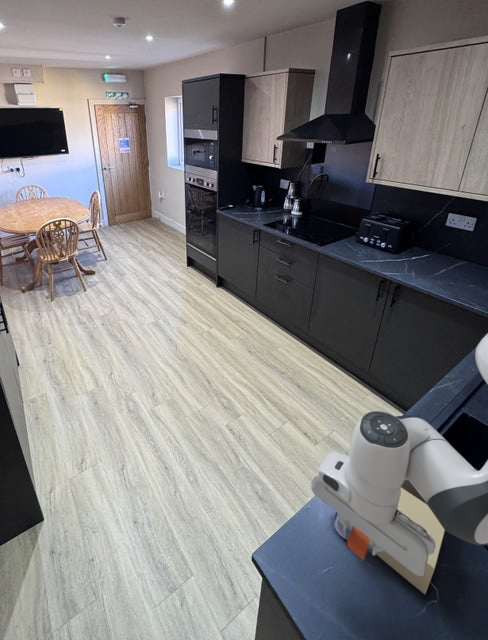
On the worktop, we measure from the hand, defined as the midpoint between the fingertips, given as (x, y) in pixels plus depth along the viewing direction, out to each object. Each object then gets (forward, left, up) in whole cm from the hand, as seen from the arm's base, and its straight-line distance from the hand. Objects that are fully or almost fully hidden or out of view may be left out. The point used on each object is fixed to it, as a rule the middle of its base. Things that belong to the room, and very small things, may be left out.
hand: (359, 539), depth 64 cm
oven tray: (-18, -19, -11) cm, 29 cm away
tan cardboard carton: (-12, -10, -12) cm, 20 cm away
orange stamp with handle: (-1, -2, -2) cm, 3 cm away
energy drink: (0, -9, -12) cm, 16 cm away
